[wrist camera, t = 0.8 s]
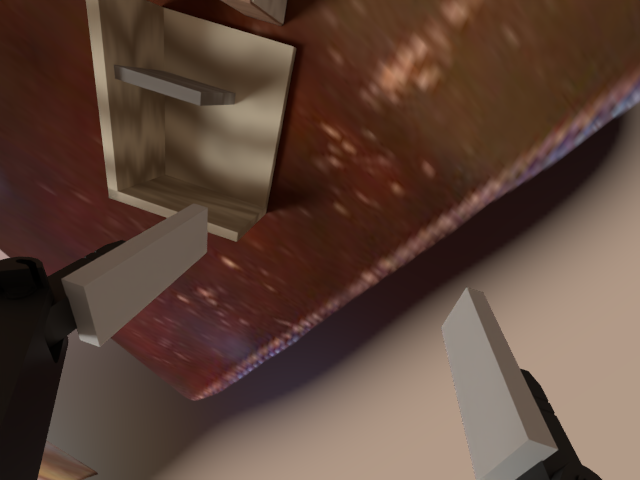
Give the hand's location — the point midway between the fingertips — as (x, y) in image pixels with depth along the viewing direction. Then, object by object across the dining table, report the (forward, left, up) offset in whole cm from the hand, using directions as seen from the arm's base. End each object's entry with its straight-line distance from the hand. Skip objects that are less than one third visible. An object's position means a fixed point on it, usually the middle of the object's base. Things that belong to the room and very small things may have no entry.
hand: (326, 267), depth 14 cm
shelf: (0, -19, -23) cm, 30 cm away
